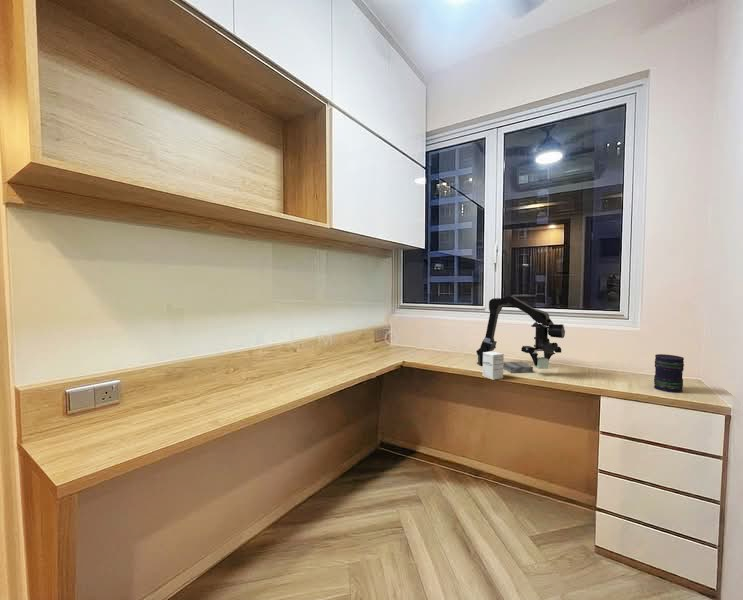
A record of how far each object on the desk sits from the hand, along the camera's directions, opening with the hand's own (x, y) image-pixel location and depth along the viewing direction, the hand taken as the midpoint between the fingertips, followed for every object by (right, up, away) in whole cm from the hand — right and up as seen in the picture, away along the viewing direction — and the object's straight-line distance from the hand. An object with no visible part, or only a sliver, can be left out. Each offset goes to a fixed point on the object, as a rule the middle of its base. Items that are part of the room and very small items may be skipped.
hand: (540, 365), depth 177 cm
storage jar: (+45, -6, -25) cm, 52 cm away
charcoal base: (-9, -4, +10) cm, 14 cm away
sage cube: (0, -1, 0) cm, 1 cm away
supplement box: (-27, -5, -4) cm, 28 cm away
